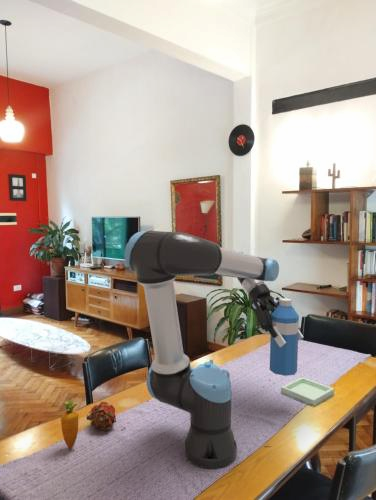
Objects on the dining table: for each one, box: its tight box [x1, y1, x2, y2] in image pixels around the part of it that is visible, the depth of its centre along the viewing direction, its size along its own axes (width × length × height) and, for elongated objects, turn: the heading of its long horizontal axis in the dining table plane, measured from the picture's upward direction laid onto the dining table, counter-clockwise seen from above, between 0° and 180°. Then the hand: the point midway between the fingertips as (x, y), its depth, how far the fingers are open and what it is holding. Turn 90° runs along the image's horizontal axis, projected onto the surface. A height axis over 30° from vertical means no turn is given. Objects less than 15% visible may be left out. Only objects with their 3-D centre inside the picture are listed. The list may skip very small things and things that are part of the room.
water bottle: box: [269, 297, 300, 377], centre depth 136 cm, size 9×9×25 cm
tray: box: [280, 376, 335, 408], centre depth 150 cm, size 14×14×2 cm
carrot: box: [60, 398, 79, 450], centre depth 115 cm, size 5×5×15 cm
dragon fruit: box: [85, 401, 117, 431], centre depth 128 cm, size 8×8×12 cm
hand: (291, 342), depth 133 cm, fingers closed on water bottle, 9 cm apart
